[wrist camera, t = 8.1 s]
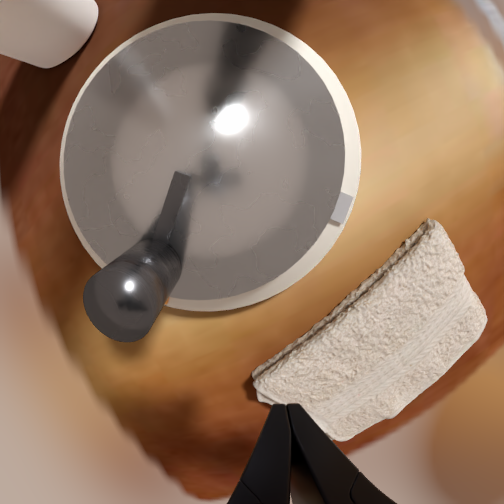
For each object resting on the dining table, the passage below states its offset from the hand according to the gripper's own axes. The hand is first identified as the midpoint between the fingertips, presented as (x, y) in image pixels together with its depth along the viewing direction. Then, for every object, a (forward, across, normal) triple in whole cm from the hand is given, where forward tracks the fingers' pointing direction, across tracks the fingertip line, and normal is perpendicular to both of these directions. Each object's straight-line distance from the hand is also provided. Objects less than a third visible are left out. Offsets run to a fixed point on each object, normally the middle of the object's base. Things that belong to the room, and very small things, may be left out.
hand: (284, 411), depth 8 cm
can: (+11, +15, -19) cm, 27 cm away
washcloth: (+12, -9, +5) cm, 15 cm away
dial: (+9, +4, -8) cm, 13 cm away
